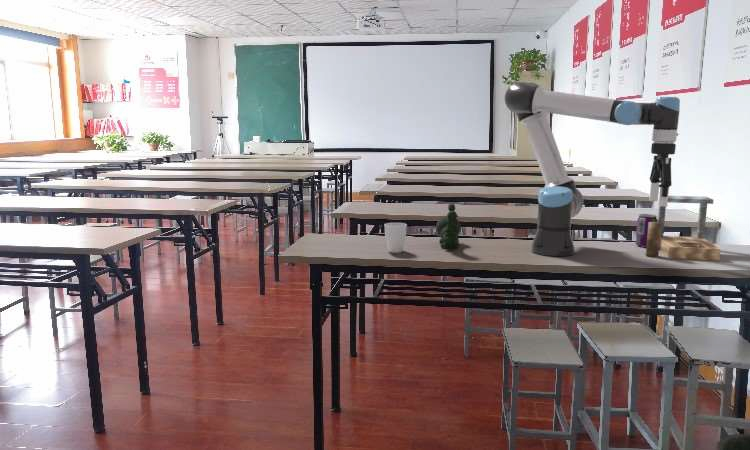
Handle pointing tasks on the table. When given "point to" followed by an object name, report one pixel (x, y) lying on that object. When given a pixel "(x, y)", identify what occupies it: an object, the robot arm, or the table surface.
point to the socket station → (688, 245)
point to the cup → (395, 236)
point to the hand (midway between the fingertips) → (657, 203)
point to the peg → (653, 239)
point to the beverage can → (643, 228)
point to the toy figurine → (449, 228)
